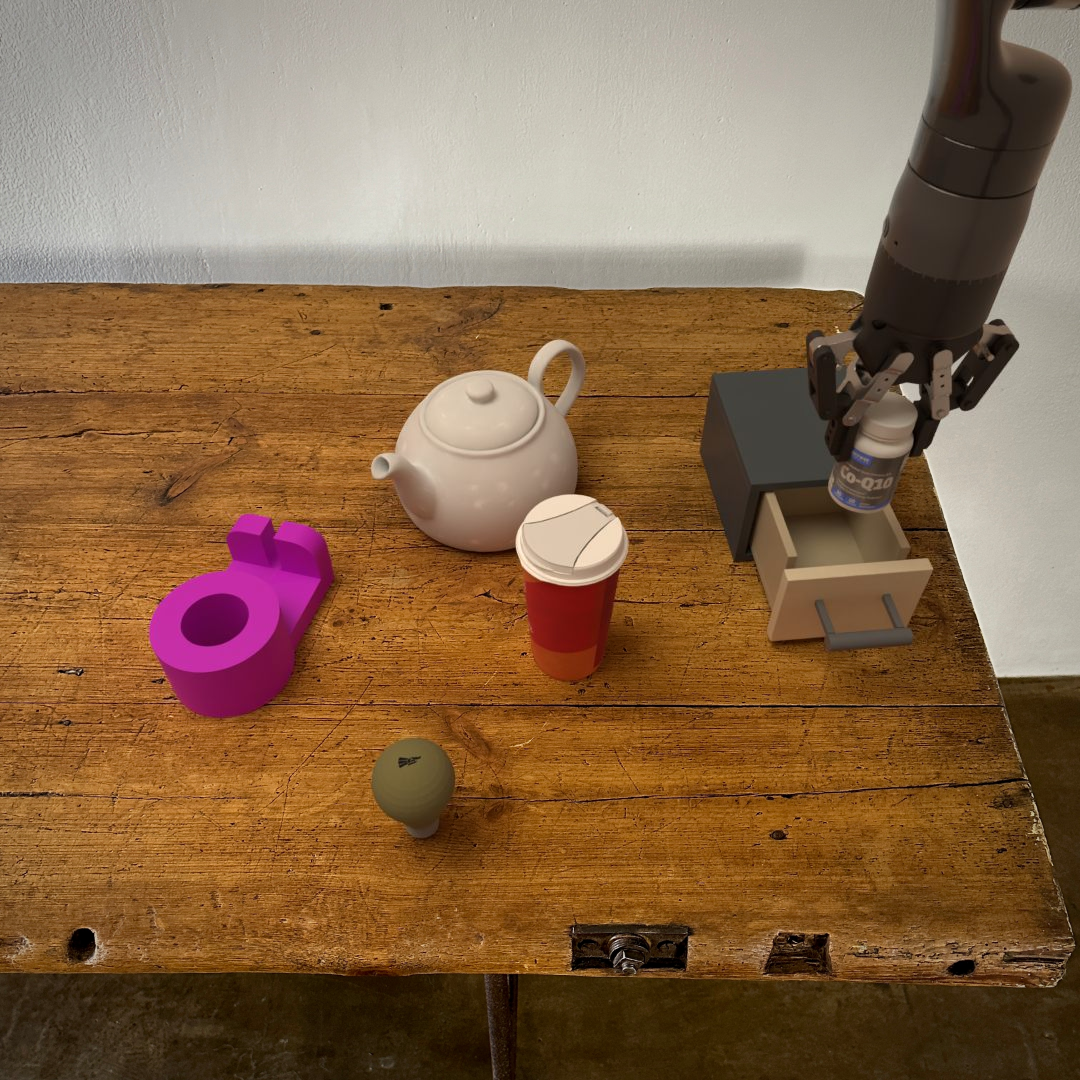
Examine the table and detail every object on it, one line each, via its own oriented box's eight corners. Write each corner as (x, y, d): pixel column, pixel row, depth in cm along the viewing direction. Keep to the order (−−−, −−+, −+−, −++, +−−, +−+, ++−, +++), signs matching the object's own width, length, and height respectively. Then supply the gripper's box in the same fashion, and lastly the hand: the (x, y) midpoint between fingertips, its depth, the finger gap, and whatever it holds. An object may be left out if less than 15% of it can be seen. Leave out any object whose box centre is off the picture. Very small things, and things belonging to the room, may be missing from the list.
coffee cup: (572, 596, 85) (577, 473, 74) (638, 655, 81) (653, 534, 70) (497, 647, 81) (490, 525, 70) (562, 712, 77) (565, 593, 66)
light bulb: (409, 880, 68) (393, 814, 60) (370, 819, 71) (350, 750, 63) (476, 835, 70) (468, 767, 63) (435, 778, 73) (423, 707, 66)
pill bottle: (823, 507, 73) (849, 421, 66) (831, 466, 76) (857, 380, 69) (888, 522, 72) (921, 436, 65) (894, 479, 75) (926, 394, 68)
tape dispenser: (261, 730, 76) (243, 685, 71) (148, 701, 78) (123, 656, 73) (342, 578, 86) (331, 530, 82) (241, 556, 88) (224, 508, 83)
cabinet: (871, 551, 88) (901, 473, 81) (733, 562, 88) (751, 484, 80) (823, 442, 98) (846, 364, 91) (699, 450, 97) (712, 373, 90)
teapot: (590, 565, 87) (596, 454, 77) (385, 566, 87) (364, 455, 77) (582, 427, 100) (587, 316, 90) (403, 428, 100) (388, 316, 90)
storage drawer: (926, 677, 78) (957, 617, 72) (785, 689, 77) (805, 629, 71) (854, 513, 90) (875, 450, 84) (731, 522, 90) (745, 460, 84)
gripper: (850, 283, 55) (791, 495, 67) (1092, 268, 56) (990, 481, 68) (811, 214, 60) (763, 424, 72) (1034, 202, 61) (949, 411, 73)
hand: (874, 451), depth 70 cm, fingers closed on pill bottle, 4 cm apart
